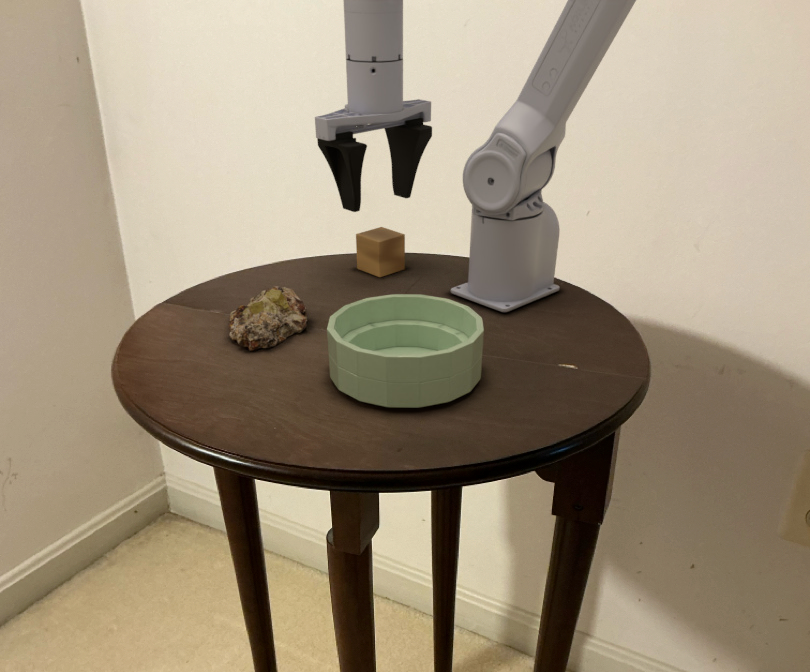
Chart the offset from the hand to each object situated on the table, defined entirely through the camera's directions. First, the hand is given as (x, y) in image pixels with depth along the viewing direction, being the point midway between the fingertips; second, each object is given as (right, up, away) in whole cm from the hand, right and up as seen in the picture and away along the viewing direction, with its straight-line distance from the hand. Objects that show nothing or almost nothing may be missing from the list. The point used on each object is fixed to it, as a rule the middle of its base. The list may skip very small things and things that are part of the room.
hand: (377, 202), depth 85 cm
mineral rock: (-11, -16, -8) cm, 21 cm away
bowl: (+3, -23, -16) cm, 28 cm away
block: (0, -5, +5) cm, 8 cm away
